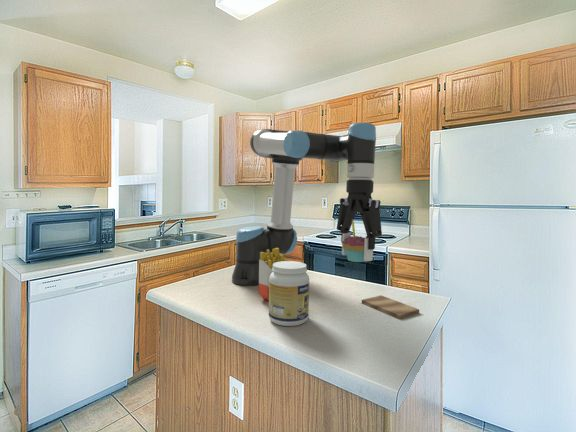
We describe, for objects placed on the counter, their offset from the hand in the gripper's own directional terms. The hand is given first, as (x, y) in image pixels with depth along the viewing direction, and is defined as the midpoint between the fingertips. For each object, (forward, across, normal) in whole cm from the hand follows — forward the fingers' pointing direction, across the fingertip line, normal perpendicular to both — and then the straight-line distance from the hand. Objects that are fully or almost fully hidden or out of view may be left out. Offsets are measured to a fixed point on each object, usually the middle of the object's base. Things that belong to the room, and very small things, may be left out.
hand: (356, 257), depth 90 cm
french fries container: (+21, -30, -10) cm, 38 cm away
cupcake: (+1, 0, 0) cm, 1 cm away
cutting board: (+20, -3, +20) cm, 28 cm away
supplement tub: (+20, -12, -15) cm, 28 cm away
